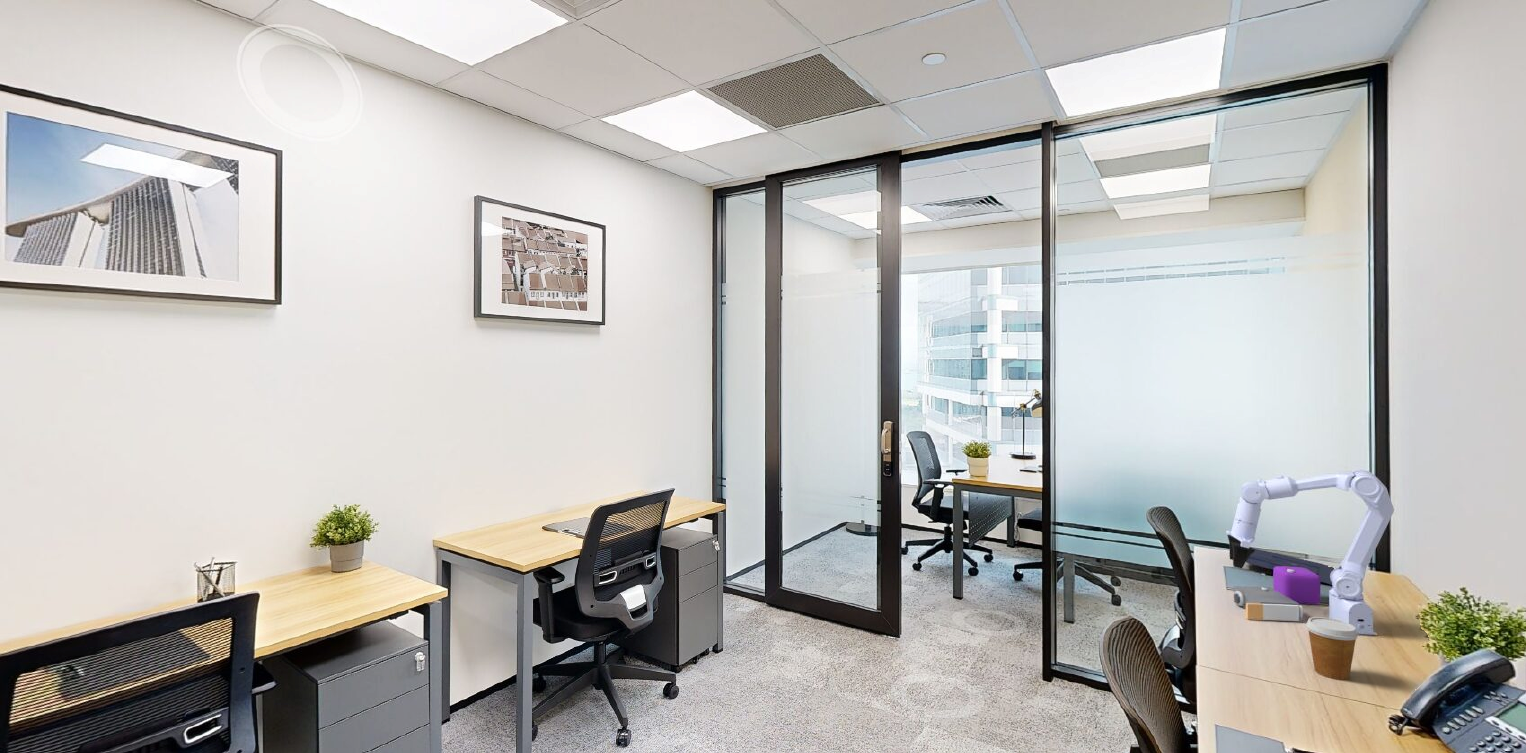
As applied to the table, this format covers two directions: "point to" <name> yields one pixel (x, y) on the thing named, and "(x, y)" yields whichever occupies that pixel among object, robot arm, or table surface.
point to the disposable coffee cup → (1332, 646)
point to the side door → (1272, 612)
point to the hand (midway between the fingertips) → (1235, 563)
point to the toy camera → (1297, 584)
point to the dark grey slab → (1289, 563)
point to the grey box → (1262, 597)
